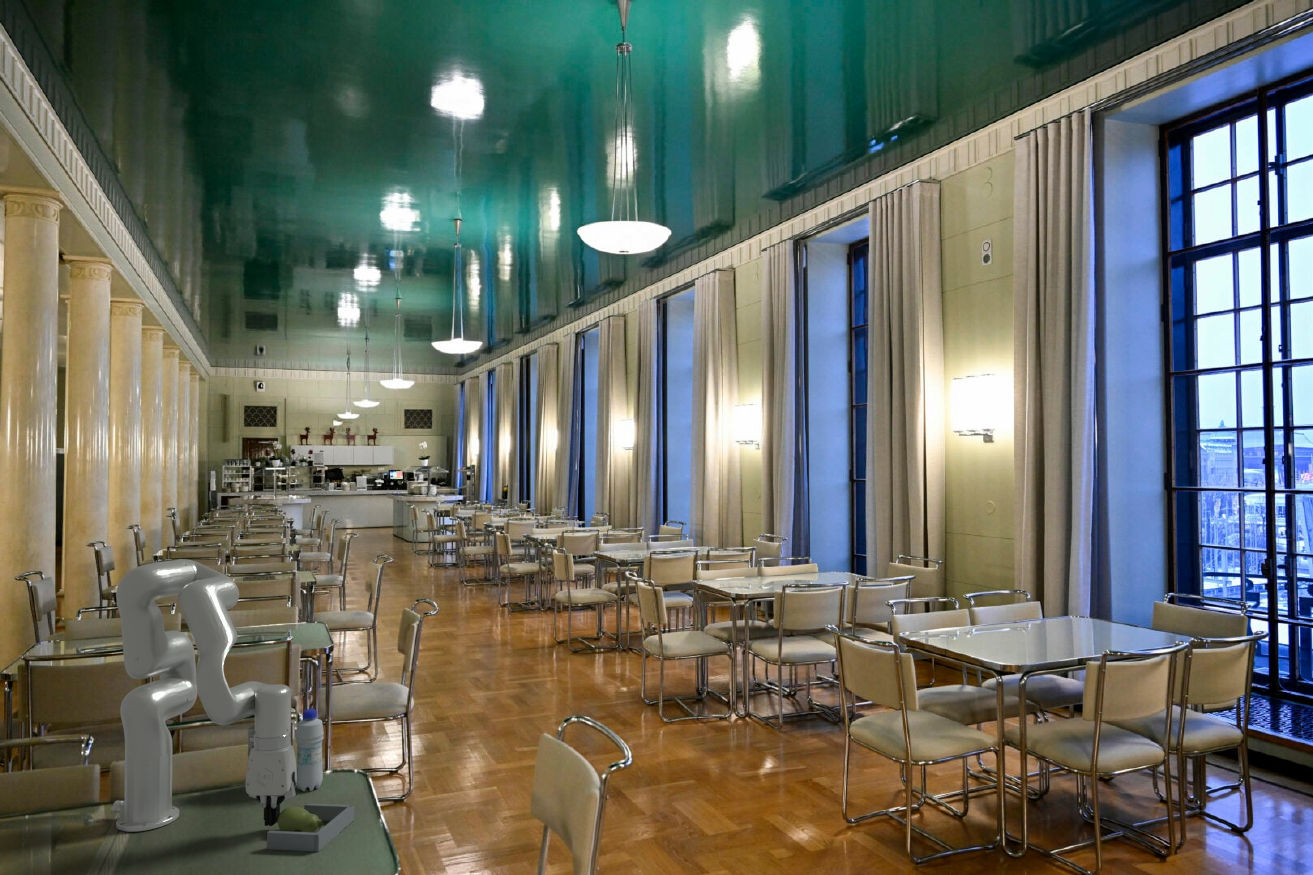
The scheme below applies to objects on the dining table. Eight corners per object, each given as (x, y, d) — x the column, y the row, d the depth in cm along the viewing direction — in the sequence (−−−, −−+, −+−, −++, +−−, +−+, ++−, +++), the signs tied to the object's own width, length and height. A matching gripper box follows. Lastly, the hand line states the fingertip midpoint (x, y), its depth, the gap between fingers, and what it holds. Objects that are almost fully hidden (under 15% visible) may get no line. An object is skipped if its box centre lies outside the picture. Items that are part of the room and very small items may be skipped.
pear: (289, 800, 194) (328, 810, 192) (285, 823, 194) (325, 833, 192) (274, 809, 189) (314, 820, 187) (270, 833, 189) (310, 844, 187)
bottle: (313, 793, 213) (313, 713, 214) (289, 792, 214) (290, 712, 215) (328, 784, 219) (329, 706, 220) (305, 782, 221) (306, 704, 221)
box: (267, 849, 182) (267, 832, 182) (306, 818, 198) (306, 803, 198) (318, 851, 181) (318, 834, 181) (354, 820, 196) (354, 805, 197)
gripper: (231, 745, 189) (230, 829, 189) (294, 748, 187) (293, 832, 187) (251, 735, 197) (250, 815, 196) (312, 737, 195) (311, 818, 194)
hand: (271, 823), depth 191 cm, fingers closed
